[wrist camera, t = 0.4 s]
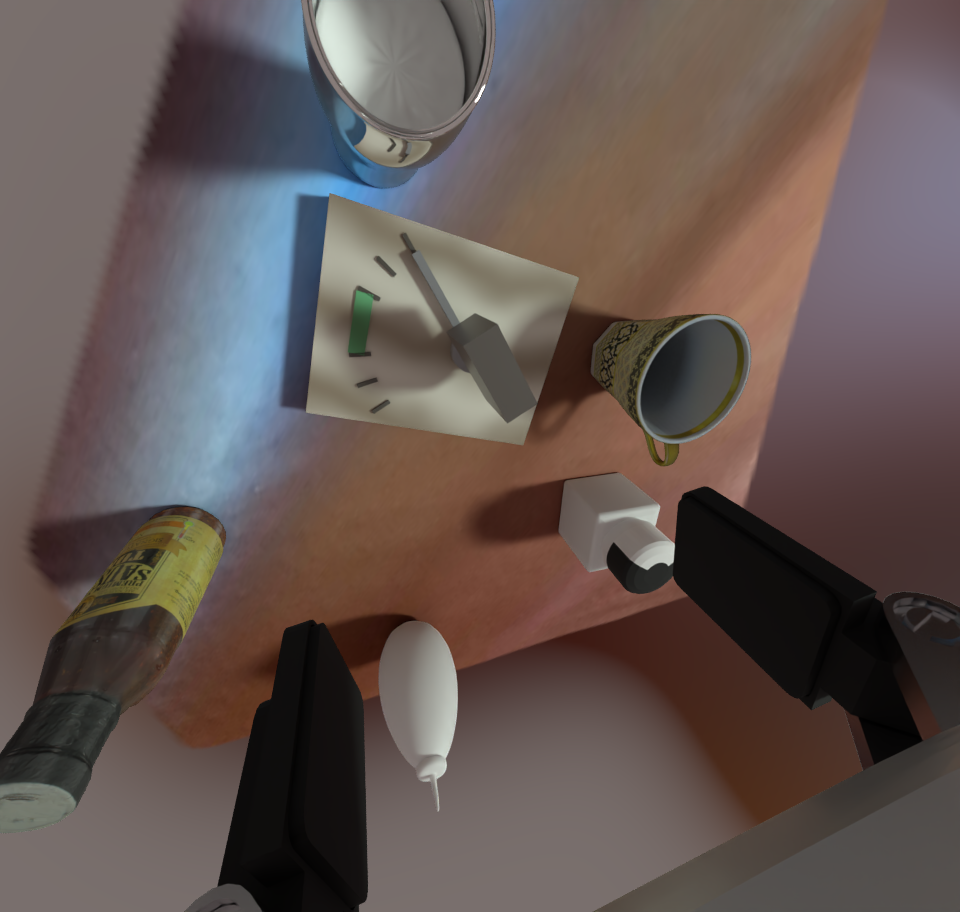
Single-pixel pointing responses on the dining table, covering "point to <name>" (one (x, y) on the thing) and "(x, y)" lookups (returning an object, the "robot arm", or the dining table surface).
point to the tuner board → (423, 324)
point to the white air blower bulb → (419, 697)
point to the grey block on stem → (483, 355)
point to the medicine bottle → (616, 531)
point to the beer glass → (397, 78)
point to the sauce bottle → (106, 663)
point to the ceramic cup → (674, 374)
